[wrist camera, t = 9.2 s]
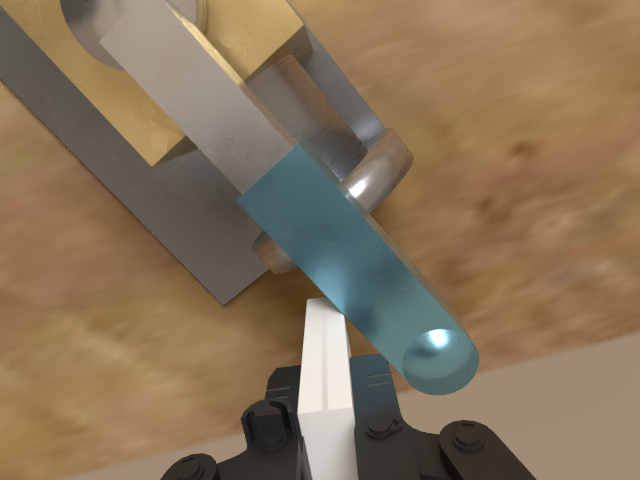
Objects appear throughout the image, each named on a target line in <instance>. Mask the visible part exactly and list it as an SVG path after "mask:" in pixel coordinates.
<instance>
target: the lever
mask: <svg viewBox="0 0 640 480" xmlns="http://www.w3.org/2000/svg"><path fill="white" fill-rule="evenodd" d="M60 6H61V9H62V13H63V16H64V18H65V21H66V23H67V25H68V27H69V29H70V31H71V33H72V34H73V36H74V37H75V39H76V40H77V42H78V43H79V44H80V45H81V46H82V48H83V49H84V50H85V51H87V52H88V53H89V54H90V55H91V56H92V57H94V58H95V59H96V60H98V61H99V62H101V63H103V64H105V65H106V66H109V67H111V68H114V69H117V70H121V71H126V72H128V74H129V75H130V76H131V77H132V78H133V79H134V80H135V81H136V82H137V83H138V84H139V85H140V86H141V87H142V88H143V89H144V91H145V92H146V93H147V94H148V95H149V96H150V97H151V98H152V99H153V100H154V101H155V102H156V103H157V104H158V105H159V106H160V108H161V109H162V110H163V111H164V112H165V113H166V114H167V115H168V116H169V117H170V118H171V119H172V120H173V121H174V122H175V123H176V125H177V126H178V127H179V128H180V129H181V130H182V131H183V132H184V133H185V134H186V135H187V136H188V137H189V138H190V139H191V140H192V142H193V143H194V144H195V145H196V146H197V147H198V148H199V149H200V150H201V151H202V152H203V153H204V154H205V155H206V156H207V157H208V159H209V160H210V161H211V162H212V163H213V164H214V165H215V166H216V167H217V168H218V169H219V170H220V171H221V172H222V173H223V174H224V176H225V177H226V178H227V179H228V180H229V181H230V182H231V183H232V184H233V185H234V186H235V187H236V188H237V189H238V190H239V191H240V193H241V194H242V195H241V196H240V197H239V198H238V199H237V200H236V201H237V202H238V203H239V204H240V205H241V206H242V208H243V209H244V210H245V211H246V212H247V213H248V214H249V215H250V216H251V217H252V218H253V219H254V220H255V221H256V222H257V223H258V224H259V225H260V226H261V228H262V229H263V230H264V231H265V232H266V233H267V234H268V235H269V236H270V237H271V238H272V239H273V240H274V241H275V242H276V243H277V244H278V245H279V247H280V248H281V249H282V250H283V251H284V252H285V253H286V254H287V255H288V256H289V257H290V258H291V259H292V260H293V261H294V262H295V263H296V264H297V265H298V267H299V268H300V269H301V270H302V271H303V272H304V273H305V274H306V275H307V276H308V277H309V278H310V279H311V280H312V281H313V282H314V283H315V284H316V286H317V287H318V288H319V289H320V290H321V291H322V292H323V293H324V294H325V295H326V296H327V297H328V298H329V299H330V300H331V301H332V302H333V303H334V304H335V306H336V307H337V308H338V309H339V310H340V311H341V312H342V313H343V314H344V315H345V316H346V317H347V318H348V319H349V320H350V321H351V322H352V323H353V325H354V326H355V327H356V328H357V329H358V330H359V331H360V332H361V333H362V334H363V335H364V336H365V337H366V338H367V339H368V340H369V341H370V342H371V343H372V345H373V346H374V347H375V348H376V349H377V350H378V351H379V352H380V353H381V354H382V355H383V356H384V357H385V358H386V359H387V360H388V361H389V362H390V364H391V365H392V366H393V367H394V368H395V369H396V370H397V371H398V372H399V373H400V374H401V375H402V376H403V377H404V378H405V379H406V380H407V381H408V382H409V384H410V385H412V386H413V387H414V388H415V389H417V390H419V391H420V392H423V393H426V394H430V395H446V394H450V393H453V392H456V391H458V390H460V389H461V388H463V387H464V386H466V385H467V384H468V383H469V382H470V381H471V380H472V378H473V377H474V375H475V373H476V371H477V368H478V363H479V357H478V352H477V349H476V347H475V345H474V344H473V342H472V340H471V338H470V337H469V335H468V333H467V332H466V330H465V328H464V326H463V325H462V323H461V321H460V320H459V318H458V316H457V314H456V313H455V312H454V311H453V309H452V308H451V307H450V306H449V305H448V304H447V302H446V301H445V300H444V299H443V298H442V297H441V296H440V294H439V293H438V292H437V291H436V290H435V289H434V288H433V286H432V285H431V284H430V283H429V282H428V281H427V279H426V278H425V277H424V276H423V275H422V274H421V273H420V271H419V270H418V269H417V268H416V267H415V266H414V265H413V263H412V262H411V261H410V260H409V259H408V258H407V256H406V255H405V254H404V253H403V252H402V251H401V250H400V248H399V247H398V246H397V245H396V244H395V243H394V242H393V240H392V239H391V238H390V237H389V236H388V235H387V233H386V232H385V231H384V230H383V229H382V228H381V227H380V225H379V224H378V223H377V222H376V221H375V220H374V219H373V217H372V216H371V215H370V214H369V213H368V212H367V210H366V209H365V208H364V207H363V206H362V205H361V204H360V202H359V201H358V200H357V199H356V198H355V197H354V196H353V194H352V193H351V192H350V191H349V190H348V189H347V187H346V186H345V185H344V184H343V183H342V182H341V181H340V179H339V178H338V177H337V176H336V175H335V174H334V173H333V171H332V170H331V169H330V168H329V167H328V166H327V164H326V163H325V162H324V161H323V160H322V159H321V158H320V156H319V155H318V154H317V153H316V152H315V151H314V150H313V148H312V147H311V146H310V145H309V144H308V143H307V141H306V140H305V139H304V138H302V139H301V140H300V141H299V142H298V143H297V141H296V140H295V139H294V138H293V137H292V136H291V135H290V133H289V132H288V131H287V130H286V129H285V128H284V127H283V125H282V124H281V123H280V122H279V121H278V120H277V119H276V117H275V116H274V115H273V114H272V113H271V112H270V111H269V109H268V108H267V107H266V106H265V105H264V104H263V103H262V101H261V100H260V99H259V98H258V97H257V96H256V95H255V93H254V92H253V91H252V90H251V89H250V88H249V87H248V85H247V84H246V83H245V82H244V81H243V80H242V79H241V77H240V76H239V75H238V74H237V73H236V72H235V71H234V69H233V68H232V67H231V66H230V65H229V64H228V63H227V61H226V60H225V59H224V58H223V57H222V56H221V55H220V53H219V52H218V51H217V50H216V49H215V48H214V47H213V46H212V44H211V43H210V42H209V41H208V40H207V39H206V38H205V36H204V32H205V27H206V21H207V7H206V0H60Z"/></svg>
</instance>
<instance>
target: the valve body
mask: <svg viewBox="0 0 640 480" xmlns="http://www.w3.org/2000/svg"><path fill="white" fill-rule="evenodd" d="M206 7H207V21H206V27H205V32H204V36H205V38H206V39H207V40H208V41H209V42H210V43H211V44H212V46H213V47H214V48H215V49H216V50H217V51H218V52H219V53H220V55H221V56H222V57H223V58H224V59H225V60H226V61H227V63H228V64H229V65H230V66H231V67H232V68H233V69H234V71H235V72H236V73H237V74H238V75H239V76H240V77H241V79H242V80H243V81H244V82H245V83H246V84H247V85H248V87H249V88H250V89H251V90H252V91H253V92H254V93H255V95H256V96H257V97H258V98H259V99H260V100H261V101H262V103H263V104H264V105H265V106H266V107H267V108H268V109H269V111H270V112H271V113H272V114H273V115H274V116H275V117H276V119H277V120H278V121H279V122H280V123H281V124H282V125H283V127H284V128H285V129H286V130H287V131H288V132H289V133H290V135H291V136H292V137H293V138H294V139H295V140H296V141H297V143H298V142H299V141H300V140H301V139H302V138H304V139H305V140H306V141H307V143H308V144H309V145H310V146H311V147H312V148H313V150H314V151H315V152H316V153H317V154H318V155H319V156H320V158H321V159H322V160H323V161H324V162H325V163H326V164H327V166H328V167H329V168H330V169H331V170H332V171H333V173H334V174H335V175H336V176H337V177H338V178H339V179H340V181H341V182H342V183H343V184H344V185H345V186H346V187H347V189H348V190H349V191H350V192H351V193H352V194H353V196H354V197H355V198H356V199H357V200H358V201H359V202H360V204H361V205H362V206H363V207H364V208H365V209H366V210H367V212H368V213H369V214H370V213H371V212H372V211H373V210H374V209H375V208H376V207H377V206H378V205H379V204H380V203H381V202H382V201H383V200H384V199H385V198H386V197H387V196H388V195H389V194H390V193H391V192H392V191H393V189H394V188H395V187H396V186H397V185H398V184H399V182H400V181H401V180H402V178H403V177H404V176H405V174H406V173H407V171H408V170H409V168H410V166H411V164H412V162H413V154H412V153H411V152H410V150H409V149H408V148H407V147H406V145H405V144H404V143H403V141H402V140H401V139H400V137H399V136H398V135H397V134H396V132H395V131H394V130H393V129H391V128H390V129H386V128H385V127H384V125H383V124H382V123H381V121H380V120H379V119H378V117H377V116H376V115H375V114H374V112H373V111H372V110H371V108H370V107H369V106H368V105H367V103H366V102H365V101H364V99H363V98H362V97H361V95H360V94H359V93H358V92H357V90H356V89H355V88H354V86H353V85H352V84H351V83H350V81H349V80H348V79H347V77H346V76H345V75H344V73H343V72H342V71H341V70H340V68H339V67H338V66H337V64H336V63H335V62H334V60H333V59H332V58H331V57H330V55H329V54H328V53H327V51H326V50H325V49H324V48H323V46H322V45H321V44H320V42H319V41H318V40H317V38H316V37H315V36H314V35H313V33H312V32H311V31H310V29H309V28H308V27H307V25H306V24H305V23H304V22H303V20H302V19H301V18H300V16H299V15H298V14H297V13H296V11H295V10H294V9H293V7H292V6H291V5H290V3H289V2H288V1H287V0H206ZM0 79H1V80H2V81H3V82H4V83H5V84H6V85H7V86H8V87H9V88H10V89H11V90H12V91H13V92H14V93H15V94H16V95H17V96H18V97H19V98H20V99H21V100H22V101H23V102H24V103H25V104H26V105H27V106H28V107H29V108H30V110H31V111H32V112H33V113H34V114H35V115H36V116H37V117H38V118H39V119H40V120H41V121H42V122H43V123H44V124H45V125H46V126H47V127H48V128H49V129H50V130H51V131H52V132H53V133H54V134H55V135H56V136H57V137H58V138H59V139H60V140H61V141H62V142H63V143H64V144H65V145H66V146H67V147H68V148H69V149H70V150H71V151H72V152H73V153H74V154H75V155H76V156H77V157H78V158H79V159H80V160H81V161H82V162H83V163H84V165H85V166H86V167H87V168H88V169H89V170H90V171H91V172H92V173H93V174H94V175H95V176H96V177H97V178H98V179H99V180H100V181H101V182H102V183H103V184H104V185H105V186H106V187H107V188H108V189H109V190H110V191H111V192H112V193H113V194H114V195H115V196H116V197H117V198H118V199H119V200H120V201H121V202H122V203H123V204H124V205H125V206H126V207H127V208H128V209H129V210H130V211H131V212H132V213H133V214H134V215H135V216H136V217H137V218H138V220H139V221H140V222H141V223H142V224H143V225H144V226H145V227H146V228H147V229H148V230H149V231H150V232H151V233H152V234H153V235H154V236H155V237H156V238H157V239H158V240H159V241H160V242H161V243H162V244H163V245H164V246H165V247H166V248H167V249H168V250H169V251H170V252H171V253H172V254H173V255H174V256H175V257H176V258H177V259H178V260H179V261H180V262H181V263H182V264H183V265H184V266H185V267H186V268H187V269H188V270H189V271H190V272H191V273H192V275H193V276H194V277H195V278H196V279H197V280H198V281H199V282H200V283H201V284H202V285H203V286H204V287H205V288H206V289H207V290H208V291H209V292H210V293H211V294H212V295H213V296H214V297H215V298H216V299H217V300H218V301H219V302H220V303H221V304H222V305H225V304H226V303H227V302H228V301H230V300H231V299H232V298H233V297H235V296H236V295H237V294H238V293H240V292H241V291H242V290H243V289H245V288H246V287H247V286H249V285H250V284H251V283H252V282H254V281H255V280H256V279H257V278H259V277H260V276H261V275H262V274H264V273H265V272H266V271H267V270H269V269H270V270H271V271H272V272H273V273H274V274H281V273H285V272H288V271H290V270H293V269H295V268H297V267H298V265H297V264H296V263H295V262H294V261H293V260H292V259H291V258H290V257H289V256H288V255H287V254H286V253H285V252H284V251H283V250H282V249H281V248H280V247H279V245H278V244H277V243H276V242H275V241H274V240H273V239H272V238H271V237H270V236H269V235H268V234H267V233H266V232H265V231H264V230H263V229H262V228H261V226H260V225H259V224H258V223H257V222H256V221H255V220H254V219H253V218H252V217H251V216H250V215H249V214H248V213H247V212H246V211H245V210H244V209H243V208H242V206H241V205H240V204H239V203H238V202H237V201H236V200H237V199H238V198H239V197H240V196H241V195H242V194H241V193H240V191H239V190H238V189H237V188H236V187H235V186H234V185H233V184H232V183H231V182H230V181H229V180H228V179H227V178H226V177H225V176H224V174H223V173H222V172H221V171H220V170H219V169H218V168H217V167H216V166H215V165H214V164H213V163H212V162H211V161H210V160H209V159H208V157H207V156H206V155H205V154H204V153H203V152H202V151H201V150H200V149H199V148H198V147H197V146H196V145H195V144H194V143H193V142H192V140H191V139H190V138H189V137H188V136H187V135H186V134H185V133H184V132H183V131H182V130H181V129H180V128H179V127H178V126H177V125H176V123H175V122H174V121H173V120H172V119H171V118H170V117H169V116H168V115H167V114H166V113H165V112H164V111H163V110H162V109H161V108H160V106H159V105H158V104H157V103H156V102H155V101H154V100H153V99H152V98H151V97H150V96H149V95H148V94H147V93H146V92H145V91H144V89H143V88H142V87H141V86H140V85H139V84H138V83H137V82H136V81H135V80H134V79H133V78H132V77H131V76H130V75H129V74H128V72H126V71H121V70H117V69H114V68H111V67H109V66H106V65H105V64H103V63H101V62H99V61H98V60H96V59H95V58H94V57H92V56H91V55H90V54H89V53H88V52H87V51H85V50H84V49H83V48H82V46H81V45H80V44H79V43H78V42H77V40H76V39H75V37H74V36H73V34H72V33H71V31H70V29H69V27H68V25H67V23H66V21H65V18H64V16H63V13H62V9H61V6H60V0H0Z"/></svg>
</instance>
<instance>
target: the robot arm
mask: <svg viewBox="0 0 640 480" xmlns="http://www.w3.org/2000/svg"><path fill="white" fill-rule="evenodd" d="M241 422H242V426H243V430H244V434H245V438H246V442H247V449H246V450H245V451H244V452H243V453H241V454H239V455H237V456H235V457H233V458H231V459H228V460H226V461H223V462H221V463H218V464H216V461H215V460H214V459H213V458H212V457H211V456H210V455H206V454H203V453H202V454H192V455H189V456H187V457H184V458H182V459H180V460H179V461H177V462H176V463H174V464H173V465H172V466H171V467H170V468H169V469H168V470H167V471H166V473H165V474H164V475H163V477H162V478H161V479H160V480H536V478H535V477H534V476H533V475H532V474H531V473H530V472H529V471H528V470H527V468H526V467H525V466H524V465H523V464H522V463H521V462H520V461H519V460H518V459H517V457H516V456H515V455H514V454H513V453H512V452H511V451H510V450H509V448H508V447H507V446H506V445H505V444H504V443H503V442H502V441H501V440H500V439H499V437H498V436H497V435H496V434H495V433H494V432H493V431H492V430H491V429H489V428H488V427H487V426H485V425H483V424H480V423H478V422H475V421H468V420H461V421H455V422H452V423H450V424H448V425H446V426H445V427H444V428H443V429H442V430H441V432H440V435H439V434H431V433H426V432H421V431H418V430H416V429H414V428H412V427H411V426H409V425H408V424H407V423H406V422H405V421H404V420H403V418H402V415H401V412H400V408H399V404H398V400H397V396H396V392H395V388H394V384H393V380H392V376H391V372H390V368H389V364H388V361H387V360H385V359H384V358H383V357H382V356H381V355H380V354H374V355H366V356H359V357H351V350H350V343H349V337H348V330H347V324H346V317H345V315H344V314H343V313H342V312H341V311H340V310H339V309H338V308H337V307H336V306H335V304H334V303H333V302H332V301H331V300H330V299H329V298H328V297H320V298H312V299H307V308H306V320H305V331H304V343H303V355H302V365H298V366H290V367H283V368H277V369H276V370H275V371H274V373H273V374H272V375H271V376H270V378H269V380H268V385H267V391H266V395H265V399H264V400H260V401H258V402H256V403H255V404H253V405H251V406H250V407H249V408H248V409H247V410H245V411H244V413H243V415H242V417H241Z"/></svg>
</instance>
